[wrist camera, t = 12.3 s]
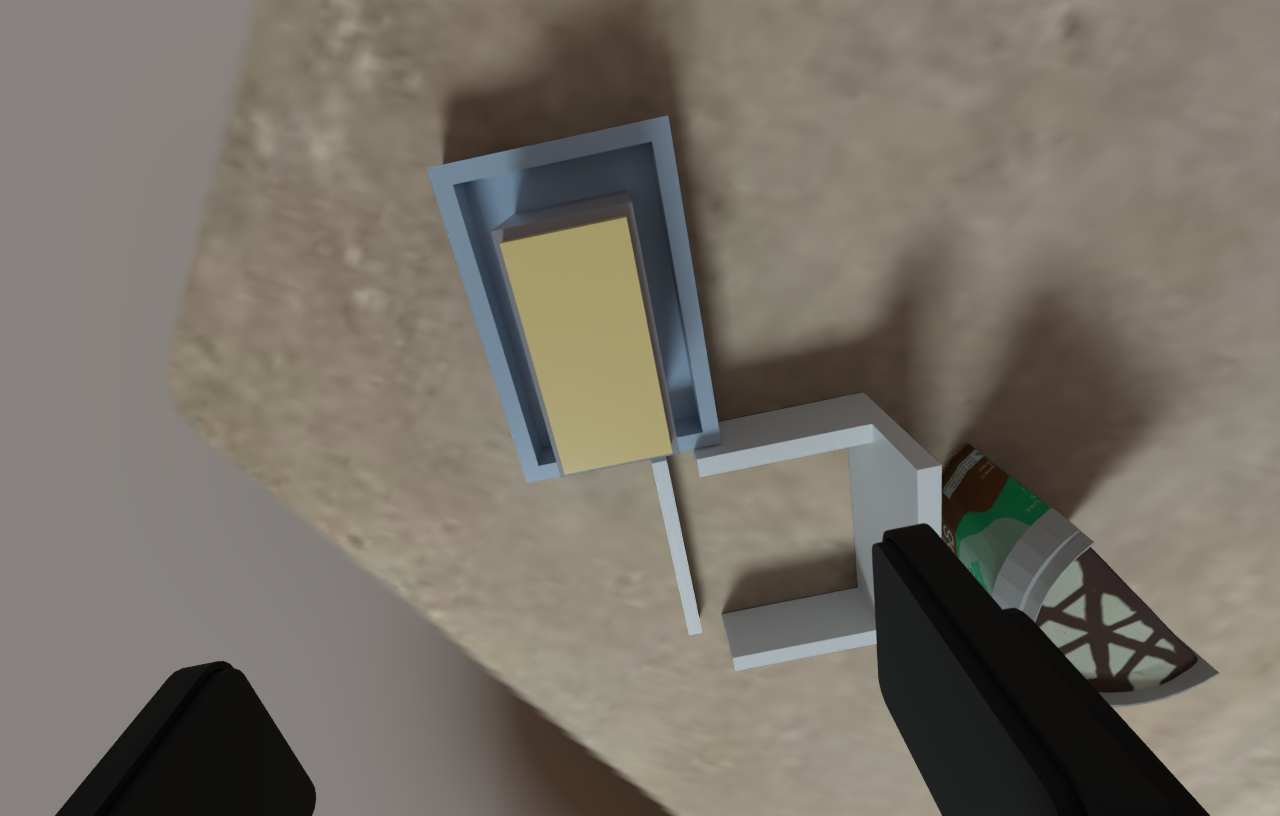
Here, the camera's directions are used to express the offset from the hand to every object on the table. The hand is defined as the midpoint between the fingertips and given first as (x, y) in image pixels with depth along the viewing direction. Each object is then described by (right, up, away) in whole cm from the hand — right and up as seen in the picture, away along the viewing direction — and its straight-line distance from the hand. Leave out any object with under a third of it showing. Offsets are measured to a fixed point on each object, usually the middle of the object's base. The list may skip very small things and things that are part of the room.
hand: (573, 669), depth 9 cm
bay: (+8, -3, +26) cm, 27 cm away
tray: (-1, +9, +20) cm, 22 cm away
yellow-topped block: (-1, +9, +20) cm, 22 cm away
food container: (+21, -3, +27) cm, 34 cm away
